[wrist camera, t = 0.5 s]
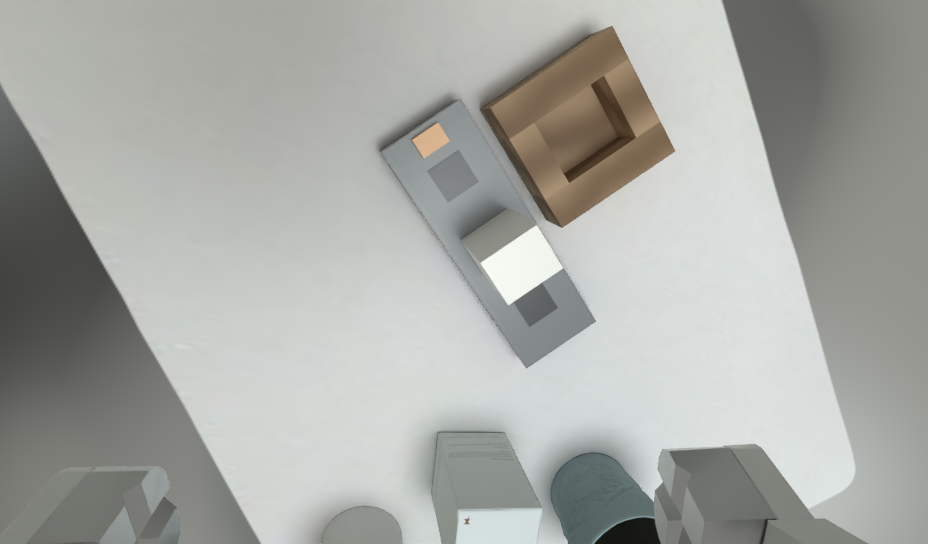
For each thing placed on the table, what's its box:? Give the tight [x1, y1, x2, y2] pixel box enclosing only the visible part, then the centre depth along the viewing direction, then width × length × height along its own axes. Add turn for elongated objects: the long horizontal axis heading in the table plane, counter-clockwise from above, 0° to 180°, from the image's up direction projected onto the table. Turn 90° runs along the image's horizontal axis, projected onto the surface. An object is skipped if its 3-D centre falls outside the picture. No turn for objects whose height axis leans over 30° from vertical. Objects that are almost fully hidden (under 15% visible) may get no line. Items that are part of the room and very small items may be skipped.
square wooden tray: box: [480, 26, 675, 228], centre depth 52 cm, size 12×12×4 cm
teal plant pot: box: [551, 453, 661, 544], centre depth 58 cm, size 10×10×12 cm
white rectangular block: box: [461, 208, 563, 305], centre depth 49 cm, size 4×5×11 cm
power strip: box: [380, 99, 596, 369], centre depth 53 cm, size 24×8×4 cm, turn 33°
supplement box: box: [432, 433, 543, 544], centre depth 54 cm, size 7×7×13 cm
